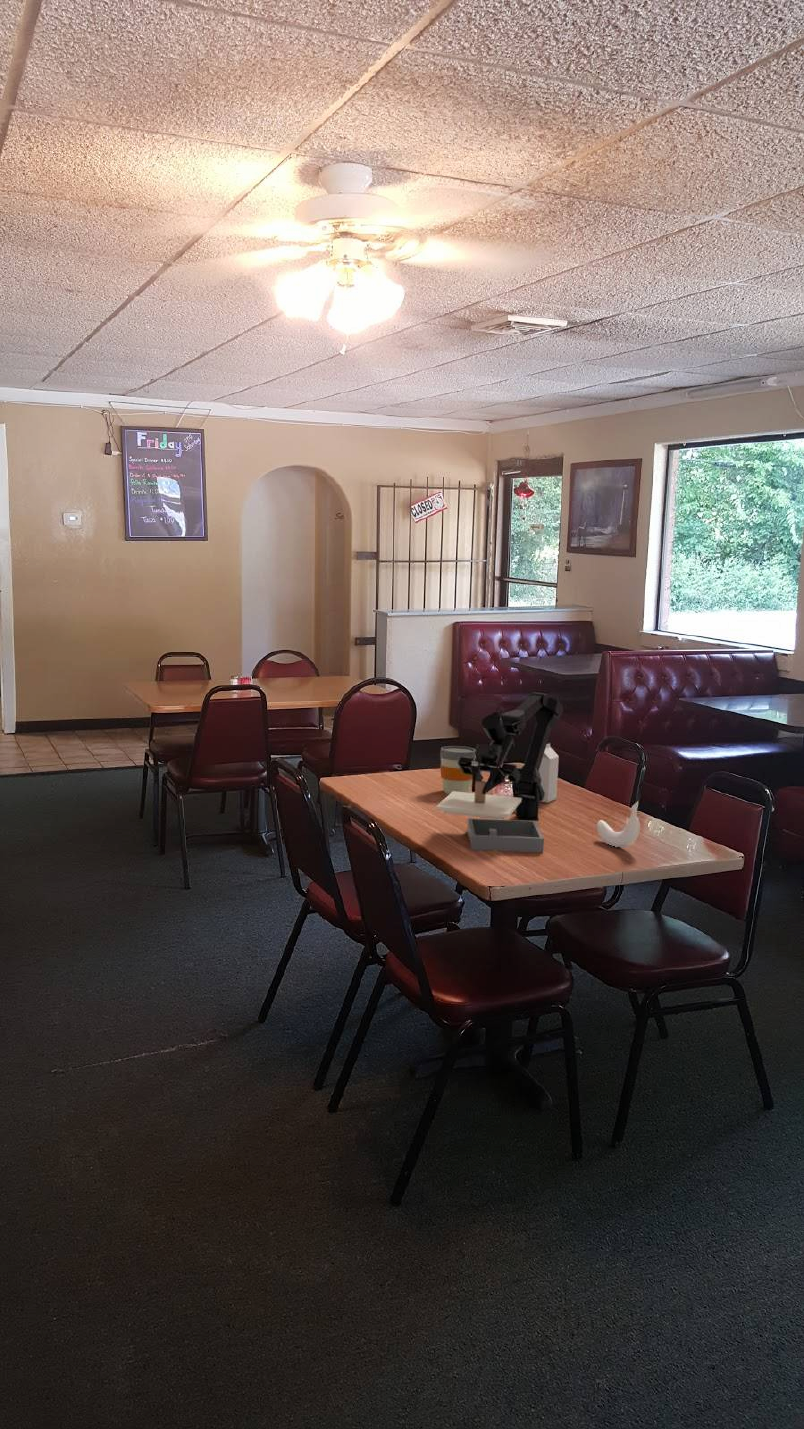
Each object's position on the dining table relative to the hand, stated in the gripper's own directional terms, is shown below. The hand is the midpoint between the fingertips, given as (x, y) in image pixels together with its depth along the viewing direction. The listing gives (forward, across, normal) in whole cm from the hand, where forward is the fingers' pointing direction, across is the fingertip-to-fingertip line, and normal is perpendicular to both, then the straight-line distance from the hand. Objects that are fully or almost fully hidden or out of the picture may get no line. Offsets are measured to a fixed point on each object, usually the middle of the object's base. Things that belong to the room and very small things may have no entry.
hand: (477, 792), depth 309 cm
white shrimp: (-4, +35, +23) cm, 42 cm away
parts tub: (+8, +8, +11) cm, 16 cm away
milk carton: (-31, -8, +51) cm, 60 cm away
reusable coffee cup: (-24, -36, +44) cm, 61 cm away
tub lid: (+3, 0, +5) cm, 5 cm away
